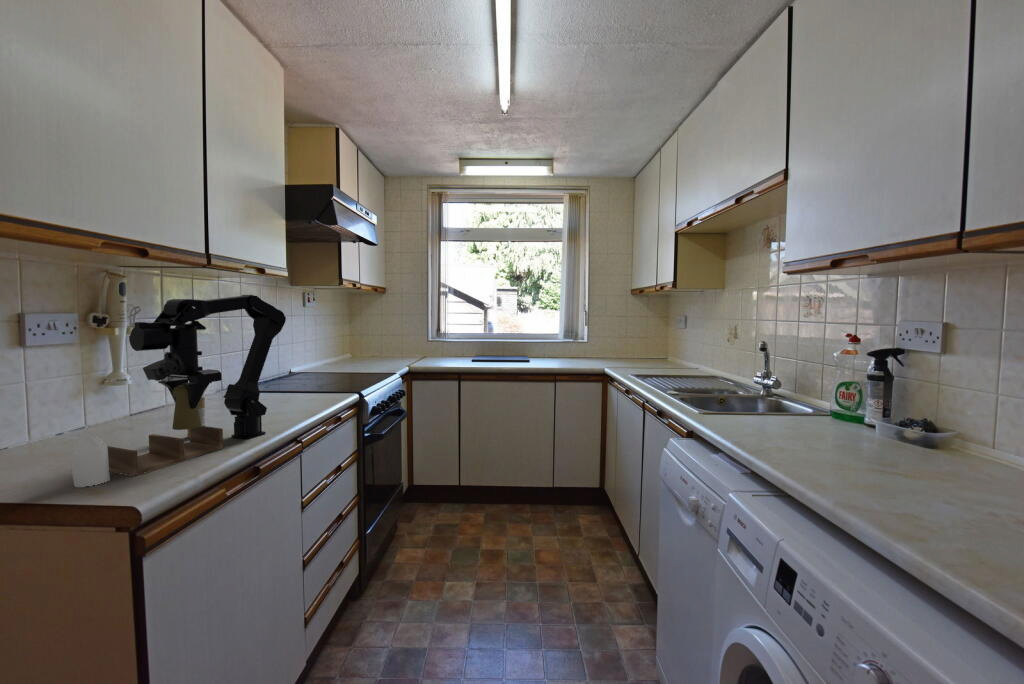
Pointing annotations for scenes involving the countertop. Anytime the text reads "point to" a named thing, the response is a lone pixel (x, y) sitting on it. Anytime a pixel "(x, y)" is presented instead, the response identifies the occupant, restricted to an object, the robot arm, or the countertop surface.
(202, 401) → the sprinkles bottle
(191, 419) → the olive bottle gourd
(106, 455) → the grey pointed block
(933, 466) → the countertop surface
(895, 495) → the countertop surface
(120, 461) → the rack
